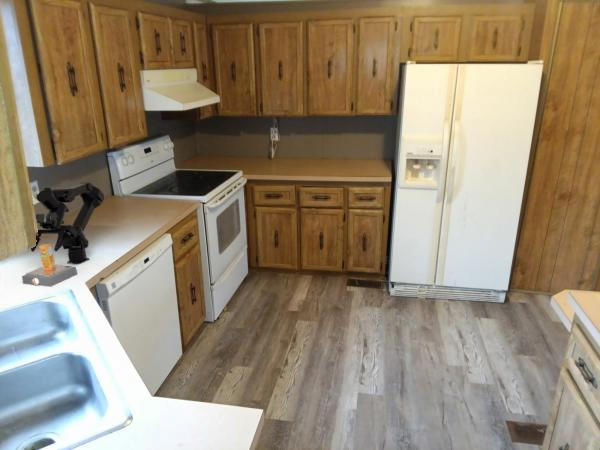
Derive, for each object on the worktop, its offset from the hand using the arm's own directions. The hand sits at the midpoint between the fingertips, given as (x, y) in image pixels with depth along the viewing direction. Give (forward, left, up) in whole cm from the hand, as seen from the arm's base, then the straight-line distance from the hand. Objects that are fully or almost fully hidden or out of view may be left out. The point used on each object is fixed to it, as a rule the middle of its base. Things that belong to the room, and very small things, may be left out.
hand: (43, 251), depth 168 cm
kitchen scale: (-1, 0, -12) cm, 12 cm away
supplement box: (-1, 0, -8) cm, 8 cm away
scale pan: (-1, 0, -9) cm, 9 cm away
